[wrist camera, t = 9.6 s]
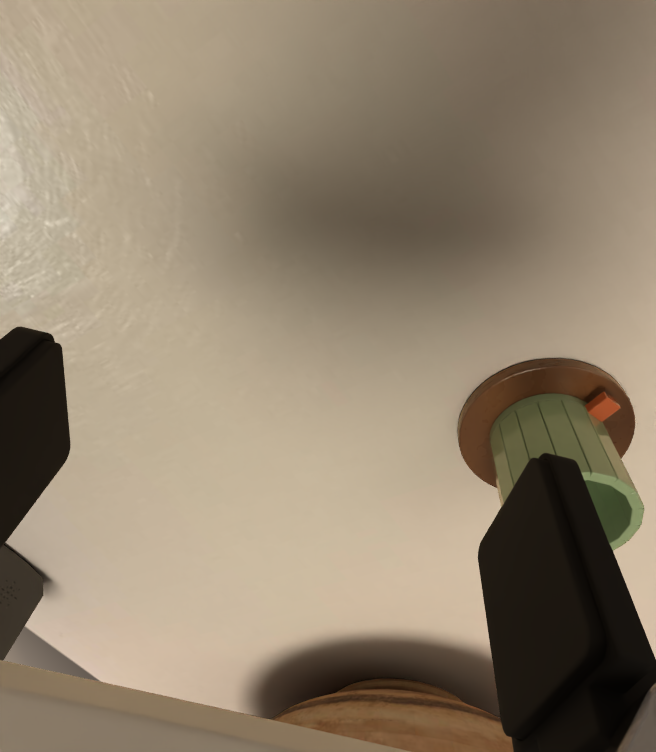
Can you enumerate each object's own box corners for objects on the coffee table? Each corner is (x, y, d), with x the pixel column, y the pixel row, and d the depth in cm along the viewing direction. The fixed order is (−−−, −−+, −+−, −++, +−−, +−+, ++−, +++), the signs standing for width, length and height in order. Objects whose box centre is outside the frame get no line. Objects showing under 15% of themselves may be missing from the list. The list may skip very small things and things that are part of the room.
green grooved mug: (466, 441, 30) (479, 523, 25) (565, 357, 26) (602, 434, 21) (541, 490, 31) (568, 577, 26) (645, 417, 28) (697, 502, 23)
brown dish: (603, 330, 26) (609, 339, 25) (648, 457, 30) (654, 467, 29) (431, 396, 29) (431, 404, 29) (492, 502, 33) (493, 512, 33)
